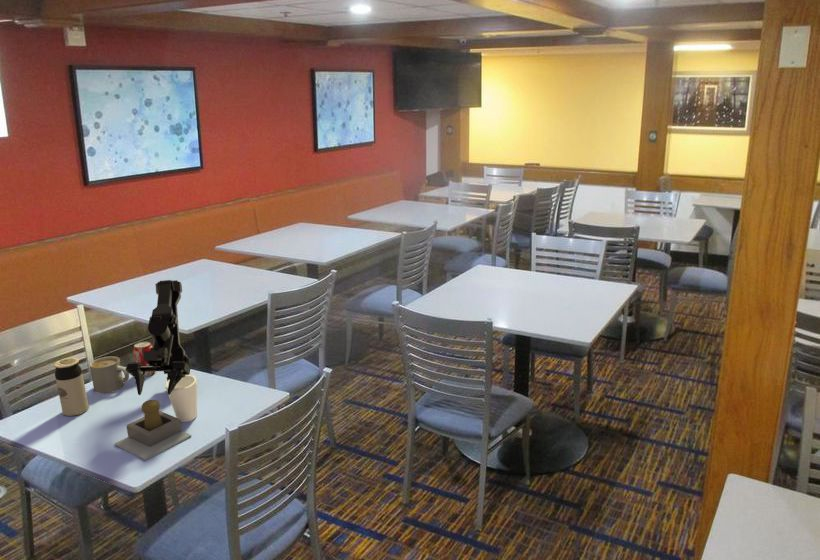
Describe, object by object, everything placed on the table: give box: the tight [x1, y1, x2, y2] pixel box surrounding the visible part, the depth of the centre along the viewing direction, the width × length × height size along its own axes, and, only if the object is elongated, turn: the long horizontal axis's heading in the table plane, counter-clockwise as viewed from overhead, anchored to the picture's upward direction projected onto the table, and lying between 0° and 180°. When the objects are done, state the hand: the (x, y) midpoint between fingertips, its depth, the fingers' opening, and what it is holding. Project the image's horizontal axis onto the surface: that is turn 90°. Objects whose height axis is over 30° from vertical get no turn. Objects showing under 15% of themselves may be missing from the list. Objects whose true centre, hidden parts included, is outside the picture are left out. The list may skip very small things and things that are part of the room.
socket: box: [114, 410, 192, 461], centre depth 204 cm, size 16×16×5 cm
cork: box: [141, 399, 163, 431], centre depth 206 cm, size 6×6×11 cm
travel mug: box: [53, 357, 90, 417], centre depth 223 cm, size 8×8×18 cm
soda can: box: [132, 341, 157, 377], centre depth 251 cm, size 7×7×12 cm
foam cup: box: [165, 374, 198, 423], centre depth 216 cm, size 10×9×13 cm
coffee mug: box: [89, 355, 130, 394], centre depth 241 cm, size 13×10×10 cm
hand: (153, 394), depth 208 cm, fingers open, 9 cm apart
